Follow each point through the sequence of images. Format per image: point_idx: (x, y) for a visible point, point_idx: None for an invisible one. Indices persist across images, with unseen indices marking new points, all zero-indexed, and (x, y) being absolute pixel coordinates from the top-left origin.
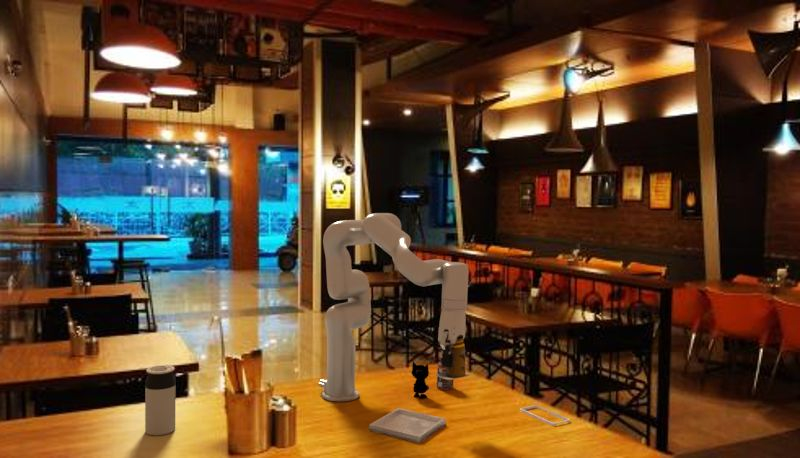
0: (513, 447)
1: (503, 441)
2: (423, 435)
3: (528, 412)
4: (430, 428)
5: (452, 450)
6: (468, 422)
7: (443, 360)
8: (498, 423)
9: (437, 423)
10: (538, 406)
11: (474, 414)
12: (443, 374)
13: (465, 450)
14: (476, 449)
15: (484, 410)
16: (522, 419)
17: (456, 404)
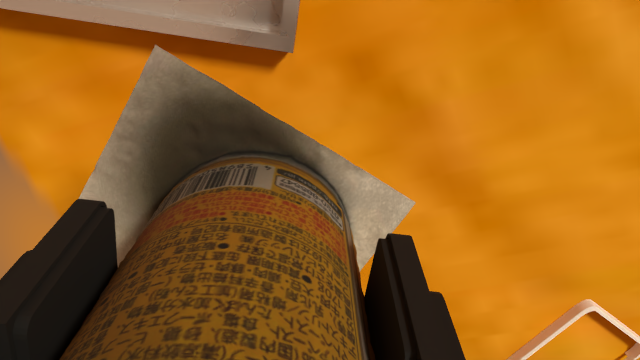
0: None
1: None
2: (18, 9)
3: (548, 337)
4: (112, 19)
5: (25, 161)
6: (369, 141)
7: (5, 274)
8: None
9: (201, 32)
10: (634, 356)
11: (487, 141)
12: (231, 130)
13: (60, 205)
14: None
15: (558, 170)
16: (484, 320)
17: (625, 12)
